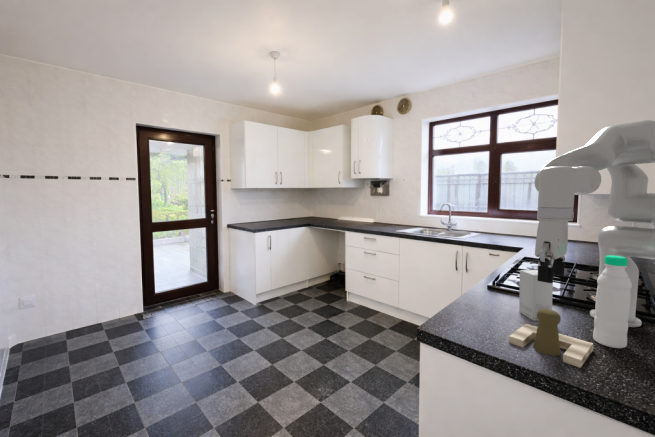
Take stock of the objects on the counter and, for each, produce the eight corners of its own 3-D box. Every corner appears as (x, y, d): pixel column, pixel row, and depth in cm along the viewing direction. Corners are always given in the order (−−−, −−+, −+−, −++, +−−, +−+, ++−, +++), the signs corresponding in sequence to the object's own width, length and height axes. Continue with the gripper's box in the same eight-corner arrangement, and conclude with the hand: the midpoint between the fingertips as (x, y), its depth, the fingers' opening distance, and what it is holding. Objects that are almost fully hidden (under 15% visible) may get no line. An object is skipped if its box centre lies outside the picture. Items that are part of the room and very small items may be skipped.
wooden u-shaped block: (525, 329, 94) (525, 323, 94) (592, 350, 82) (593, 343, 82) (508, 342, 86) (509, 336, 86) (580, 367, 74) (581, 360, 74)
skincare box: (552, 321, 100) (555, 275, 99) (531, 321, 101) (534, 275, 99) (535, 311, 109) (538, 269, 107) (517, 311, 109) (519, 269, 108)
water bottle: (630, 352, 81) (638, 260, 79) (595, 345, 85) (602, 257, 83) (622, 341, 87) (629, 255, 85) (590, 335, 91) (596, 252, 89)
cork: (565, 357, 79) (568, 316, 78) (539, 354, 80) (541, 314, 79) (552, 345, 85) (555, 307, 84) (529, 343, 86) (531, 305, 85)
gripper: (548, 212, 87) (544, 270, 89) (526, 215, 77) (522, 281, 78) (581, 213, 82) (577, 275, 83) (562, 217, 71) (558, 288, 72)
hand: (551, 278), depth 81 cm, fingers open, 9 cm apart
